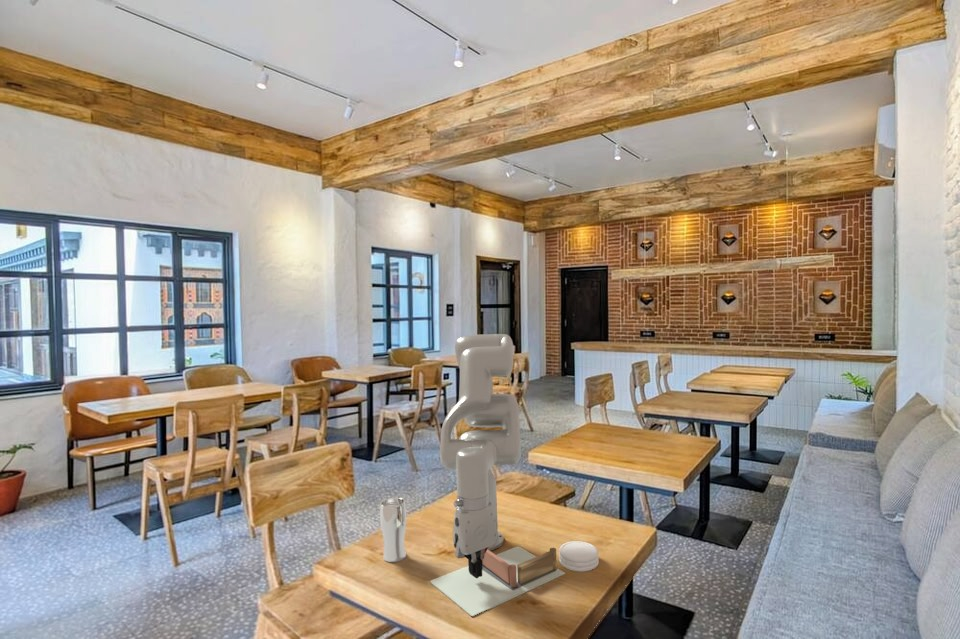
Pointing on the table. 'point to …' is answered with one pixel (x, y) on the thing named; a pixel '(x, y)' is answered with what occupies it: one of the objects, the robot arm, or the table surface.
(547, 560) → the fixed panel
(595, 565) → the white short round cylinder
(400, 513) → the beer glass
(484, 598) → the board
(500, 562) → the panel
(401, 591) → the table surface
